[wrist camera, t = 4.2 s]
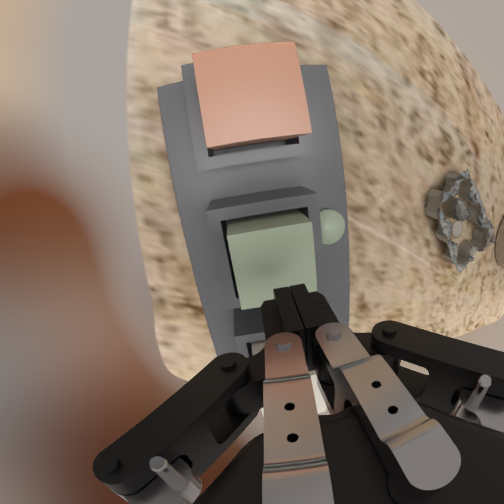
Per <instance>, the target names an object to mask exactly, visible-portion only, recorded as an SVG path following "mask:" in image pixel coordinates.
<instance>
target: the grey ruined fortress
mask: <svg viewBox="0 0 504 504" xmlns="http://www.w3.org/2000/svg"><path fill="white" fill-rule="evenodd" d="M460 182H461V183H460ZM457 189H458V190H457ZM458 193H459V196H460V198H461V199H463V200H466V201H467V202H468V204H469V206H468V208H467V206H466V204H465V202H464V201H463V200H460V199H457V198H454V197H452V196H456V195H457V194H458ZM427 195H428V203H427V205H426V207H425V212H426V214H427V215H428V216H430V217H433V218H435V219H438V227H437V229H436V231H435V235H436V237H437V239H440V240H441V241H444V242H445V243H447V247H446V250H445V252H444V253H443V255H444V258H445V259H446V260H448V261H450V262H451V263H453V264H455V266H456V269H457V271H458V272H461V271H462V270H463V269H465V268H467V266H466V265H467V264H468V263H469V262H470V261H473V260H474V257H472V256H473V255H474V253H475V252H476V251H484V250H485V249H487V247H488V246H489V245H490V244H491V243H492V242H494V243H495V238H494V236H495V234H494V232H493V227H492V224H491V222H490V221H489V220H488V219H487V215H486V209H485V207H484V206H483V203H482V201H481V198H480V193H479V191H478V189H477V187H476V185H475V184H474V182H473V180H472V179H471V177H470V173H469V170H468V169H467V171H462V172H461V173H460V174H457V173H452V172H448V173H447V174H446V175H445V187H444V189H443V191H439V190H436V189H433V188H432V189H431V190H430V191H429V192H428V193H427ZM450 196H451V197H450ZM442 203H443V206H442V210H443V212H442V211H441V209H440V207H441V204H442ZM444 215H446V216H448V217H450V218H453V219H455V220H456V221H454V223H453V224H452V223H451V221H450V220H449V219H446V218H445V217H444ZM466 219H468V220H469V221H471V222H473V223H475V228H474V230H473V239H472V240H471V241H470V242H469V241H467V240H464V241H462V242H461V244H460V246H459V248H458V247H457V245H458V243H455V242H453V241H451V236H450V233H452V236H453V237H455V238H458V237H459V236H460V235H461V233H462V230H463V223H462V222H463V221H464V220H466ZM451 226H452V228H451ZM448 239H449V240H448ZM457 253H458V256H457Z"/></svg>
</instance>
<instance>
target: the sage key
mask: <svg viewBox="0 0 504 504" xmlns="http://www.w3.org/2000/svg"><path fill="white" fill-rule="evenodd" d="M227 240H228V245H229V250H230V255H231V260H232V265H233V270H234V275H235V280H236V285H237V290H238V295H239V299H240V304H241V309H242V310H245V309H251V308H257V307H261V305H262V304H263V302H264V301H266V300H272V299H274V293H273V289H275V288H281V287H287V286H288V287H289V286H292V285H297V284H303V283H304V284H305V286H306V288H307V290H308V292H314V291H317V277H316V262H315V249H314V238H313V227H312V221H311V220H309V219H308V218H307V217H306V216H305V215H304V214H303V213H301V212H300V211H299V210H298V209H297V208H296V209H289V210H283V211H276V212H270V213H264V214H258V215H252V216H246V217H240V218H234V219H229V220H228V227H227Z"/></svg>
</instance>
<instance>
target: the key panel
mask: <svg viewBox="0 0 504 504" xmlns="http://www.w3.org/2000/svg"><path fill="white" fill-rule="evenodd" d="M181 68H182V76H183V81H181V82H176V83H172V84H168V85H165V86H161V87H157V90H158V98H159V105H160V112H161V118H162V124H163V131H164V137H165V143H166V148H167V154H168V159H169V165H170V170H171V175H172V180H173V185H174V190H175V195H176V200H177V205H178V209H179V214H180V218H181V223H182V227H183V231H184V236H185V240H186V244H187V248H188V252H189V256H190V260H191V264H192V268H193V272H194V276H195V280H196V284H197V287H198V291H199V295H200V299H201V302H202V306H203V309H204V313H205V316H206V320H207V323H208V327H209V330H210V333H211V337H212V340H213V343H214V346H215V350H216V353H217V356H219V355H222V354H225V353H231V352H235V353H240V354H242V355H244V356H245V357H246V358H248V357H251V356H253V354H252V345H251V342H255V341H261V340H266V339H265V333H264V327H263V320H262V314H261V308H260V307H257V308H251V309H245V310H242V309H241V304H240V299H239V295H238V290H237V285H236V280H235V275H234V270H233V265H232V260H231V255H230V250H229V245H228V240H227V227H228V220H229V219H234V218H240V217H246V216H252V215H258V214H264V213H270V212H276V211H283V210H289V209H296V208H297V209H298V210H299V211H300V212H301V213H303V214H304V215H305V216H306V217H307V218H308V219H309V220H311V221H312V227H313V238H314V249H315V262H316V277H317V292H319V293H321V294H322V295H324V297H325V298H326V300H327V302H328V303H329V305H330V307H331V309H332V310H333V312H334V314H335V315H336V317H337V319H338V321H339V322H340V323H342V324H345V325H347V326H348V327H349V240H348V220H347V205H346V192H345V181H344V171H343V162H342V154H341V146H340V139H339V131H338V125H337V118H336V112H335V106H334V101H333V95H332V90H331V85H330V80H329V75H328V70H327V66H326V65H300V69H301V74H302V79H303V84H304V89H305V95H306V100H307V106H308V112H309V118H310V124H311V130H312V133H310V134H306V135H303V136H299V137H295V138H292V139H288V140H280V141H272V142H264V143H257V144H250V145H244V146H238V147H232V148H226V149H221V150H213V149H209V148H207V145H206V139H205V133H204V127H203V121H202V115H201V109H200V103H199V97H198V90H197V84H196V77H195V71H194V64H193V63H191V64H186V65H182V66H181Z"/></svg>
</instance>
